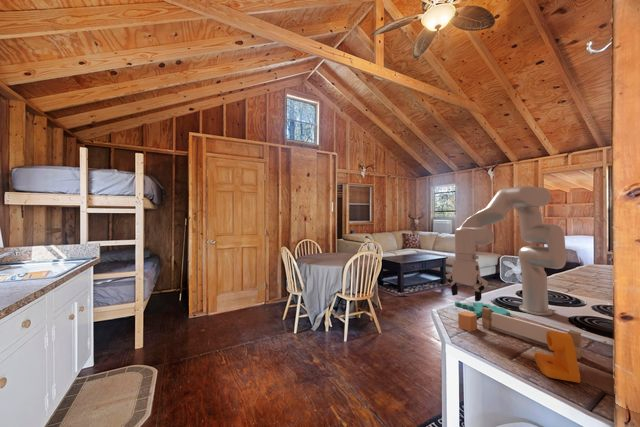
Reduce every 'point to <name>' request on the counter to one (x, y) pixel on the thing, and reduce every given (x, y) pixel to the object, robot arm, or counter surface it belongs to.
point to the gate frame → (488, 325)
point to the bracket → (559, 358)
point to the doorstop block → (467, 321)
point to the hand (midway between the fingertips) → (465, 297)
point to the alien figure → (479, 306)
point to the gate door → (521, 327)
